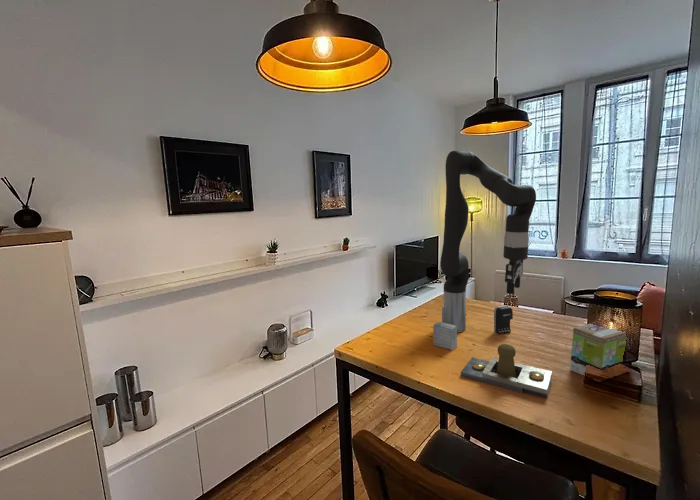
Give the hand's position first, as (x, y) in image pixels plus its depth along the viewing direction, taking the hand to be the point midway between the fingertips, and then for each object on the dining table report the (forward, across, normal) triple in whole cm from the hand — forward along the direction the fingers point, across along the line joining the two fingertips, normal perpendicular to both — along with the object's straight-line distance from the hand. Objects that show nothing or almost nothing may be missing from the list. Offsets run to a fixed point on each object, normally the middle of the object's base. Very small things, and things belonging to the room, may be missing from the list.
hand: (513, 290), depth 121 cm
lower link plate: (+24, +17, 0) cm, 30 cm away
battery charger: (+25, -20, -7) cm, 33 cm away
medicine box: (+25, +4, -22) cm, 34 cm away
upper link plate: (+24, +16, +6) cm, 30 cm away
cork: (+25, +17, +3) cm, 30 cm away
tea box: (+24, -4, +26) cm, 36 cm away
